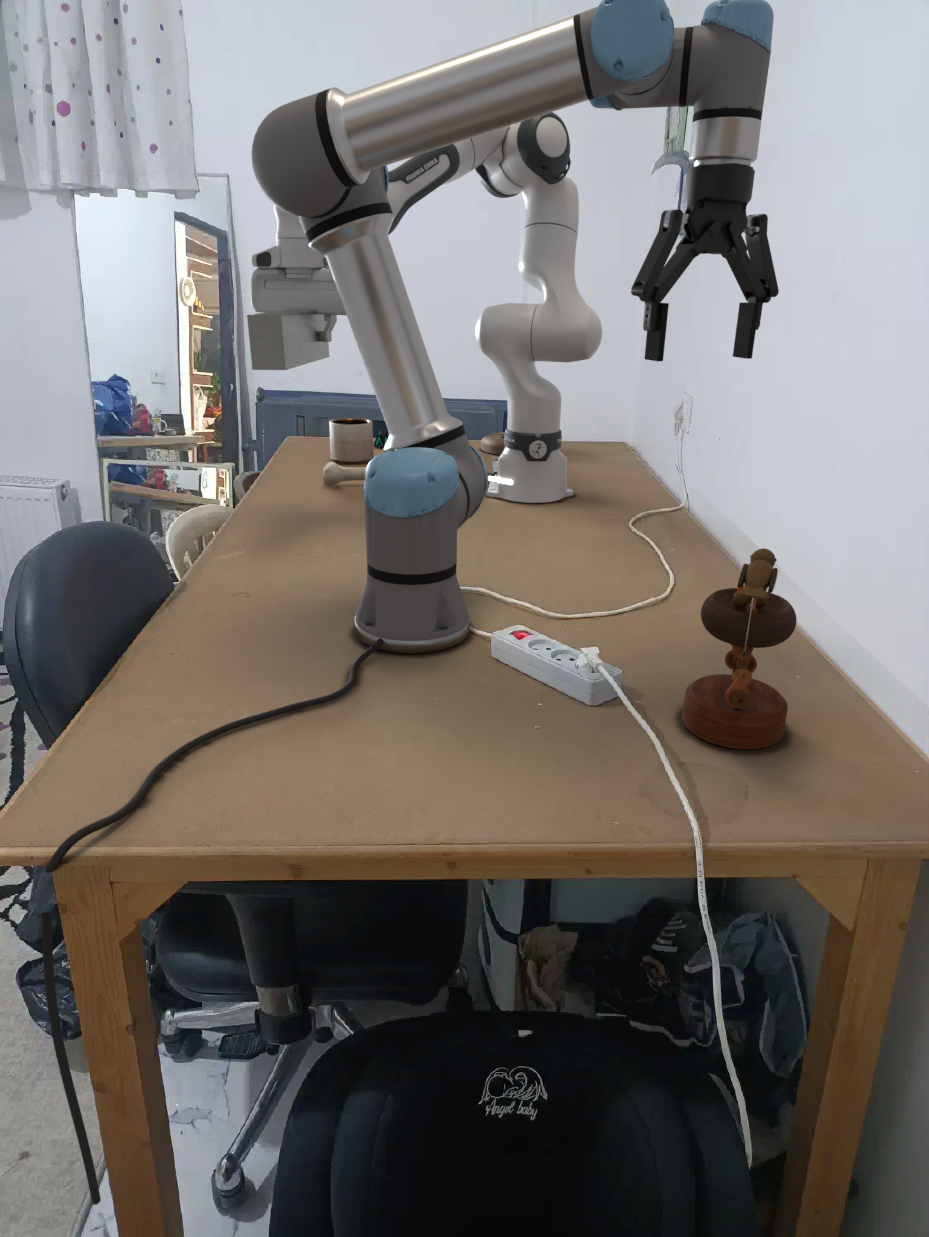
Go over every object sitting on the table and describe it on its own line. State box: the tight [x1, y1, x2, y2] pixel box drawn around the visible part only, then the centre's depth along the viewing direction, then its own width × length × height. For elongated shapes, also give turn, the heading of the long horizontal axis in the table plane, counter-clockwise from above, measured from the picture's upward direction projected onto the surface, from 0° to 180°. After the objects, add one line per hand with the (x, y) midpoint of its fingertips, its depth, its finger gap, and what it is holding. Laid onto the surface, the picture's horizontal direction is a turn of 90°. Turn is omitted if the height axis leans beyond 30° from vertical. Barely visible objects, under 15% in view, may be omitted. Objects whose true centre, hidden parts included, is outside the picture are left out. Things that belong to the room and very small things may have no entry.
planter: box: [328, 417, 375, 464], centre depth 212 cm, size 11×11×10 cm
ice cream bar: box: [480, 431, 505, 456], centre depth 223 cm, size 21×28×4 cm
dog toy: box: [322, 461, 366, 486], centre depth 189 cm, size 20×6×5 cm, turn 99°
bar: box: [246, 310, 330, 371], centre depth 144 cm, size 24×6×8 cm, turn 171°
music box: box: [681, 548, 797, 750], centre depth 88 cm, size 15×11×20 cm
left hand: (698, 359), depth 105 cm, fingers open, 13 cm apart
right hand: (307, 341), depth 152 cm, fingers closed on bar, 6 cm apart
